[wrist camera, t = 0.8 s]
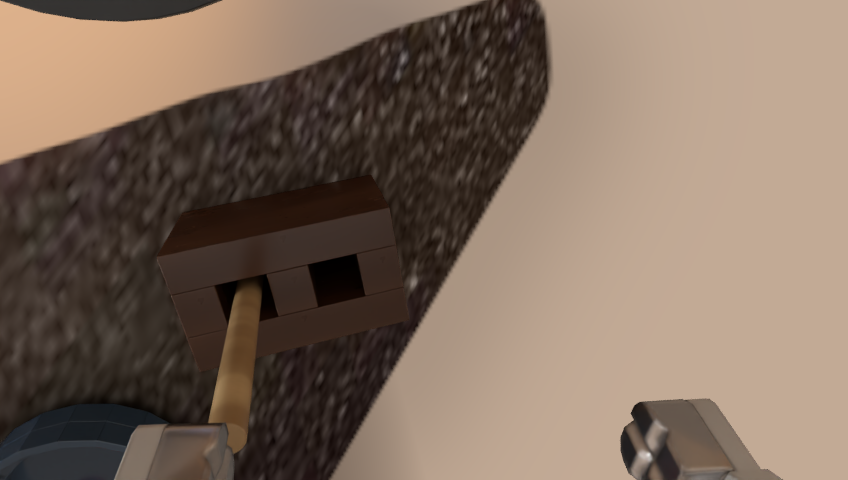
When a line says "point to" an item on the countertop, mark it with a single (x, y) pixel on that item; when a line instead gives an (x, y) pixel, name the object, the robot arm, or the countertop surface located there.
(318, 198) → the utensil block
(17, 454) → the bowl
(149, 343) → the countertop surface
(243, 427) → the stirring stick
